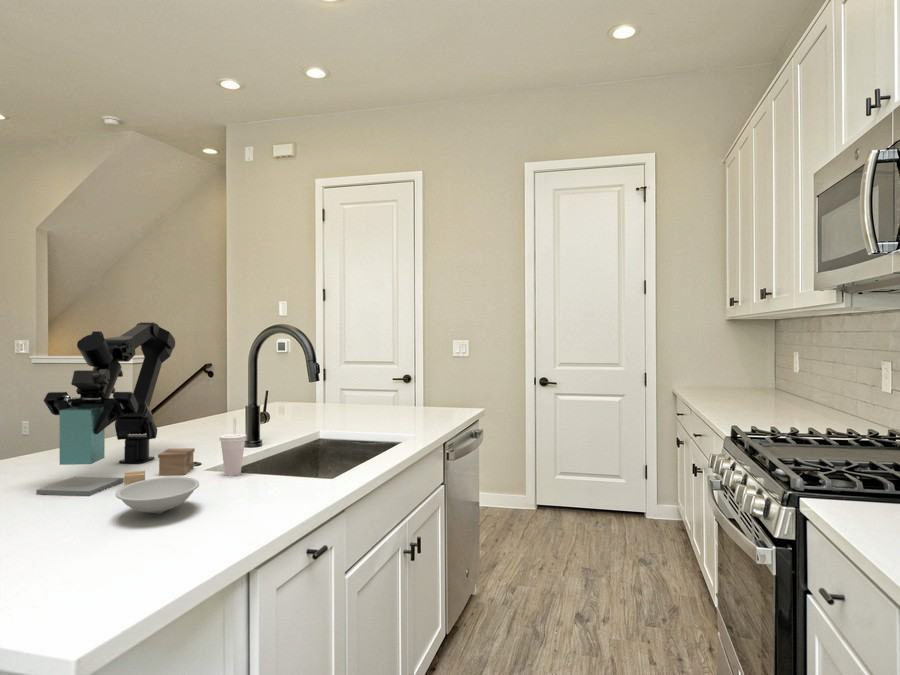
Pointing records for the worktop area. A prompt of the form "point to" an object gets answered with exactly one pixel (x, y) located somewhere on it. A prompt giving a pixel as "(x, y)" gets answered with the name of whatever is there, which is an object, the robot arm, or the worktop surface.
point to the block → (133, 477)
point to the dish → (157, 493)
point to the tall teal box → (81, 435)
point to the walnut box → (176, 461)
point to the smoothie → (233, 451)
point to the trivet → (80, 486)
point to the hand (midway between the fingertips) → (79, 433)
